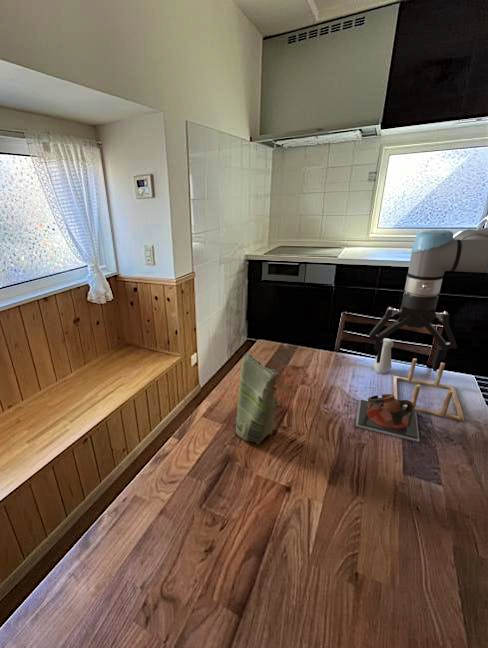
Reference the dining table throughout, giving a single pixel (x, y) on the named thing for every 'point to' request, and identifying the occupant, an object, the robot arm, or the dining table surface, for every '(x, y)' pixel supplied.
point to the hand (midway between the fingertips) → (405, 364)
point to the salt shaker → (384, 357)
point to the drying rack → (436, 384)
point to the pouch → (255, 400)
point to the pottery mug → (391, 407)
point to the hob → (376, 422)
